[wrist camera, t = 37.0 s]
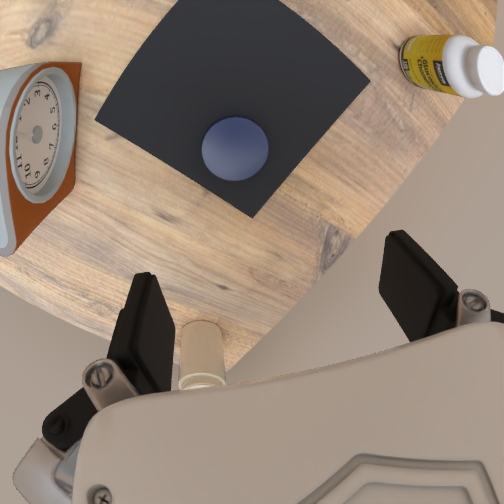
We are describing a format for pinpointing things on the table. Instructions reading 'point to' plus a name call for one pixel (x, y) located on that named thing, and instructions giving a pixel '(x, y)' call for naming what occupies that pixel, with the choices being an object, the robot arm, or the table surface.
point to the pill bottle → (452, 65)
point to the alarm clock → (35, 145)
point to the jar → (201, 356)
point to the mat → (232, 89)
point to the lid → (234, 148)
